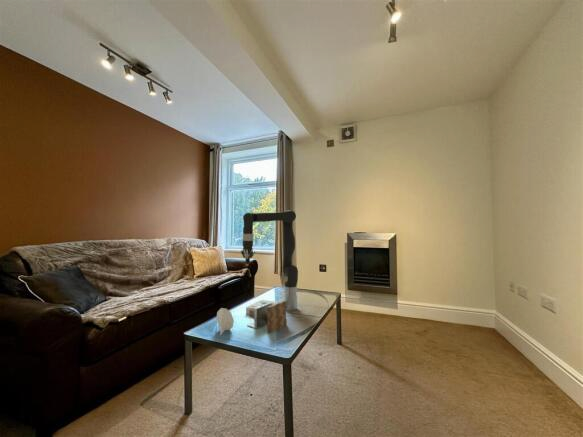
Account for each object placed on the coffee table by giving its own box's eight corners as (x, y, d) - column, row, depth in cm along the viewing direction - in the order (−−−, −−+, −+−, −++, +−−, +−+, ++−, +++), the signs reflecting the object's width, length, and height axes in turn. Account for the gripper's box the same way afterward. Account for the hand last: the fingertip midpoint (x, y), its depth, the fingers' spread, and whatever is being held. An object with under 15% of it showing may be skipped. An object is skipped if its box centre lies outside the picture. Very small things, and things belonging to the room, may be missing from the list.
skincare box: (264, 309, 163) (245, 307, 169) (265, 317, 162) (245, 315, 169) (279, 301, 182) (261, 299, 188) (279, 308, 181) (261, 306, 188)
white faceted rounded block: (229, 338, 132) (230, 310, 132) (210, 337, 132) (211, 310, 133) (235, 330, 142) (235, 304, 143) (217, 329, 142) (218, 304, 143)
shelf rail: (251, 315, 167) (251, 309, 167) (286, 325, 149) (286, 318, 150) (249, 315, 166) (249, 309, 166) (285, 326, 148) (285, 319, 148)
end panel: (284, 324, 150) (284, 300, 151) (286, 325, 150) (286, 300, 150) (267, 333, 137) (267, 307, 138) (269, 334, 137) (269, 307, 137)
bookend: (261, 319, 158) (261, 301, 159) (270, 322, 154) (270, 303, 154) (247, 326, 148) (247, 306, 148) (256, 329, 143) (256, 308, 144)
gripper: (258, 240, 174) (257, 264, 173) (245, 239, 182) (245, 262, 181) (250, 240, 168) (250, 265, 167) (237, 240, 176) (237, 263, 175)
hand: (247, 263), depth 174 cm, fingers closed
